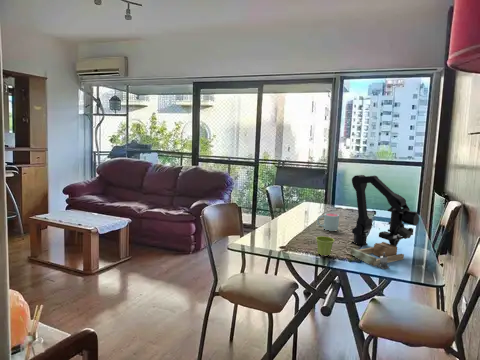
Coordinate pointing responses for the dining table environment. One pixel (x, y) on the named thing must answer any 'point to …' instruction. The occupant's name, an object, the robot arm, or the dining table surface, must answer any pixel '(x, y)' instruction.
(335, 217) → the mug
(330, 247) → the plant pot
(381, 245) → the crate
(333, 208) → the dining table surface
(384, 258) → the winch drum
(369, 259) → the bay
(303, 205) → the dining table surface
